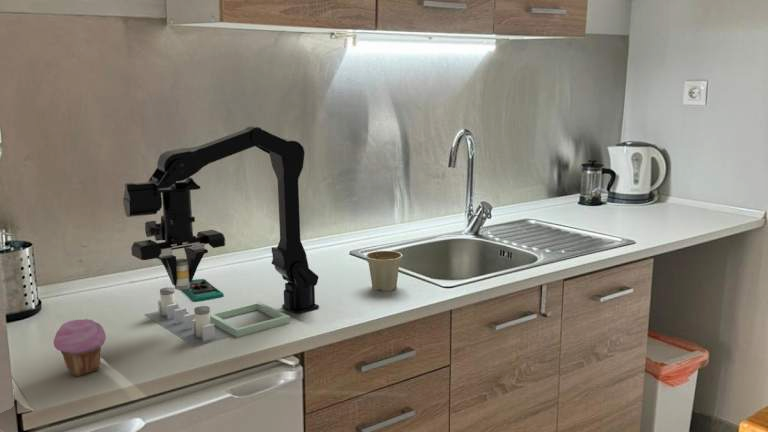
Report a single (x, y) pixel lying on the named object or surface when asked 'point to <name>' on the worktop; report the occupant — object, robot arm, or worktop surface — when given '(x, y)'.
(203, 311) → the fuse right
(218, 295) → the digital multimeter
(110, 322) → the worktop surface
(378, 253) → the flower pot
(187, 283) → the fuse marked
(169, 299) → the fuse left
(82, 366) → the cupcake
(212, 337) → the fuse panel
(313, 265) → the worktop surface
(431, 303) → the worktop surface
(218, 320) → the tray
